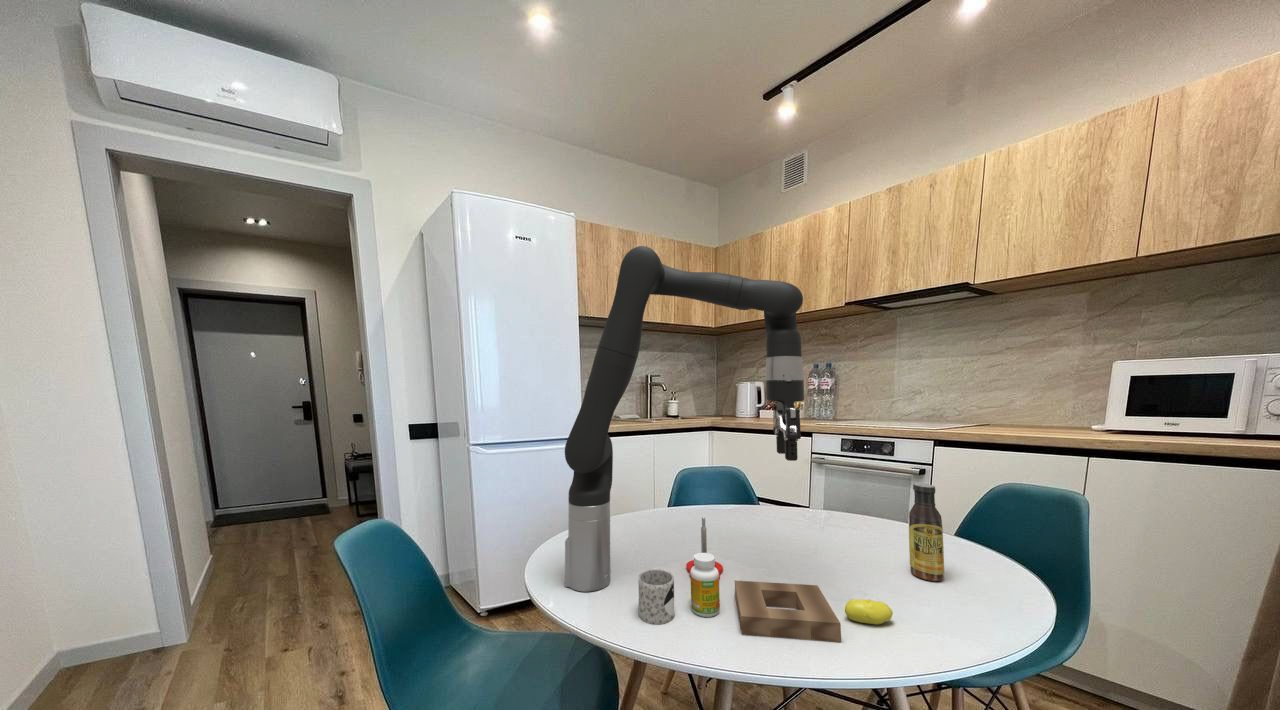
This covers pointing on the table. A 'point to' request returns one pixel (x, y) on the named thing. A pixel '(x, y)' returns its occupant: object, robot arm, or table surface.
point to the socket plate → (785, 611)
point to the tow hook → (704, 550)
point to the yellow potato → (868, 611)
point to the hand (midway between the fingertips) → (786, 456)
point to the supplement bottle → (704, 586)
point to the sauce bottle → (926, 535)
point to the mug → (656, 597)
